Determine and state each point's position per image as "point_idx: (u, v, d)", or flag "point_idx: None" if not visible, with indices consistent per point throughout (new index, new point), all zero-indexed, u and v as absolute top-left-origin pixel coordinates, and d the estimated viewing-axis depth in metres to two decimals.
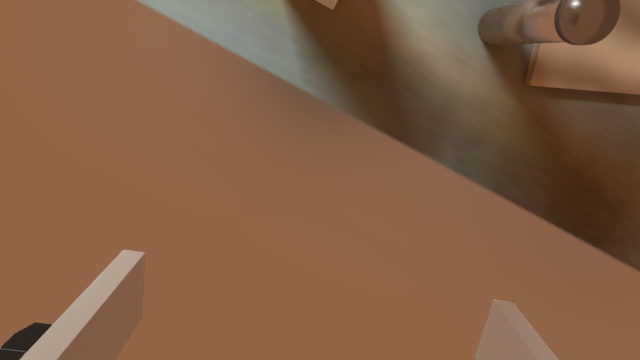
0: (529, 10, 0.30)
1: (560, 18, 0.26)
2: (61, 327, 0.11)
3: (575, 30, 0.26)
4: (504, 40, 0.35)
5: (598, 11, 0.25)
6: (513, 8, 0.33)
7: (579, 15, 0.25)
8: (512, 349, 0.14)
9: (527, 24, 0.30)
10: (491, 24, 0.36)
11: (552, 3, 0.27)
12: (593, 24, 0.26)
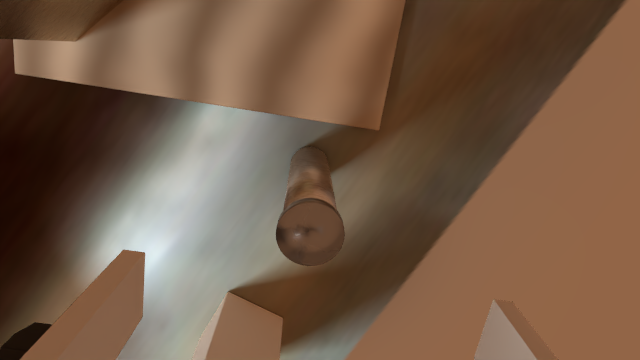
0: None
1: (312, 264, 0.22)
2: (61, 327, 0.11)
3: (326, 249, 0.22)
4: None
5: (307, 227, 0.22)
6: None
7: (310, 247, 0.22)
8: (513, 349, 0.14)
9: None
10: None
11: None
12: (321, 231, 0.22)
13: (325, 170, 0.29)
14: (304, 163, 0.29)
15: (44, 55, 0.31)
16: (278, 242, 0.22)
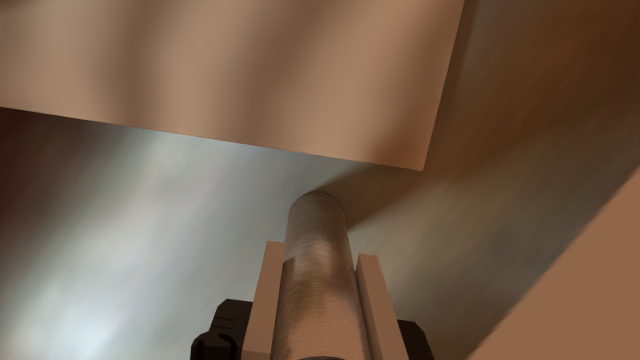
0: None
1: None
2: (261, 301, 0.13)
3: None
4: None
5: None
6: None
7: None
8: (361, 292, 0.16)
9: None
10: None
11: None
12: None
13: (343, 245, 0.18)
14: (308, 233, 0.18)
15: None
16: None
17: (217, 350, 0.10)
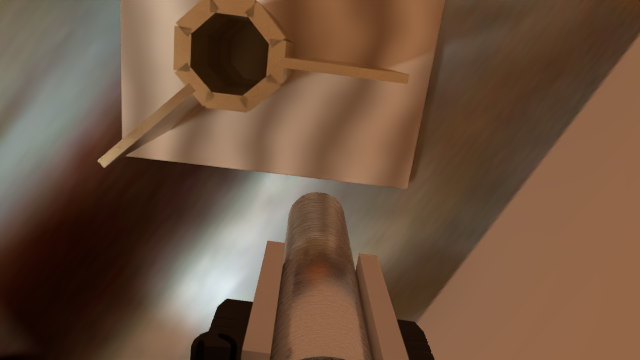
0: None
1: None
2: (262, 301, 0.13)
3: None
4: None
5: None
6: None
7: None
8: (361, 292, 0.16)
9: None
10: None
11: None
12: None
13: (343, 245, 0.18)
14: (309, 233, 0.18)
15: None
16: None
17: (217, 350, 0.10)
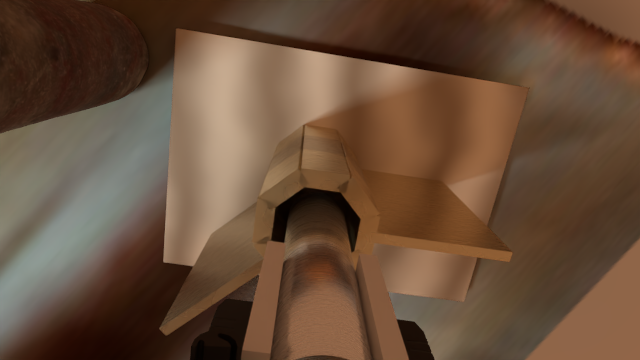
0: None
1: None
2: (261, 301, 0.13)
3: None
4: None
5: None
6: None
7: None
8: (361, 292, 0.16)
9: None
10: None
11: None
12: None
13: (343, 244, 0.18)
14: (308, 232, 0.18)
15: (189, 248, 0.37)
16: None
17: (217, 350, 0.10)
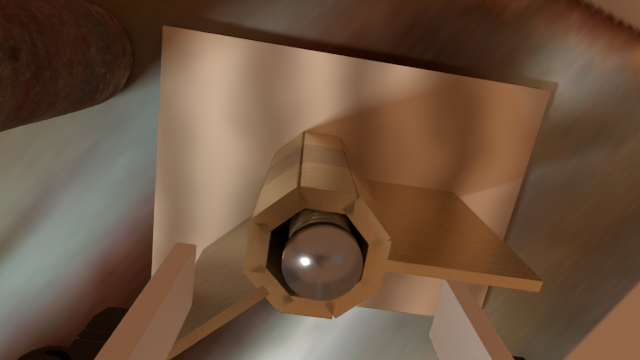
0: None
1: (324, 298, 0.19)
2: (139, 309, 0.12)
3: (341, 282, 0.19)
4: None
5: (319, 256, 0.18)
6: None
7: (322, 279, 0.18)
8: (457, 323, 0.15)
9: None
10: None
11: None
12: (336, 261, 0.18)
13: None
14: None
15: None
16: (284, 274, 0.18)
17: None
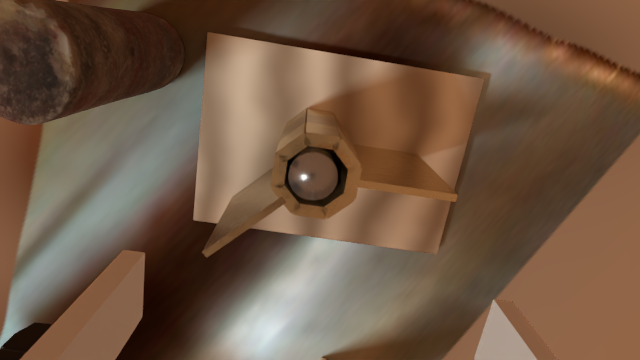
0: None
1: (314, 199, 0.31)
2: (61, 327, 0.11)
3: (324, 188, 0.30)
4: None
5: (311, 171, 0.30)
6: None
7: (313, 186, 0.30)
8: (513, 349, 0.14)
9: None
10: None
11: None
12: (321, 174, 0.30)
13: None
14: None
15: (214, 209, 0.46)
16: (290, 182, 0.30)
17: None
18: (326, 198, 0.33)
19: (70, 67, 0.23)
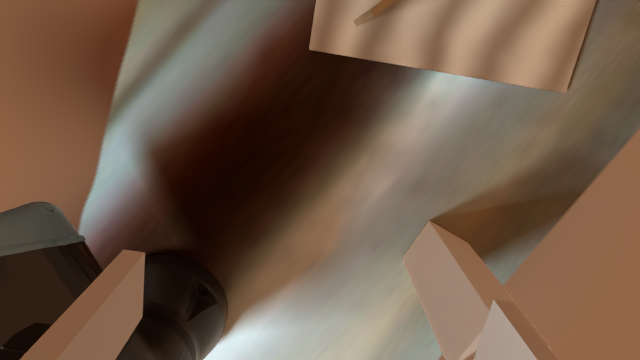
0: None
1: None
2: (61, 327, 0.11)
3: None
4: None
5: None
6: None
7: None
8: (512, 349, 0.14)
9: None
10: None
11: None
12: None
13: None
14: None
15: (332, 36, 0.42)
16: None
17: None
18: None
19: None
